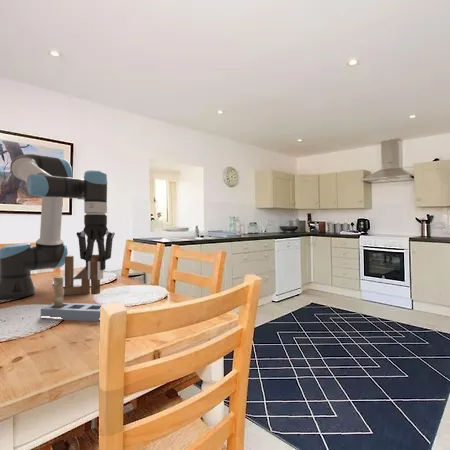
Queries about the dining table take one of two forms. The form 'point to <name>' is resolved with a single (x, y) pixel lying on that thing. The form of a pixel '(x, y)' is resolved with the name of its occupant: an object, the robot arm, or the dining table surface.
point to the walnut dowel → (94, 275)
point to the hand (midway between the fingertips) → (95, 278)
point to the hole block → (73, 311)
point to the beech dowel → (58, 292)
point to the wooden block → (69, 274)
